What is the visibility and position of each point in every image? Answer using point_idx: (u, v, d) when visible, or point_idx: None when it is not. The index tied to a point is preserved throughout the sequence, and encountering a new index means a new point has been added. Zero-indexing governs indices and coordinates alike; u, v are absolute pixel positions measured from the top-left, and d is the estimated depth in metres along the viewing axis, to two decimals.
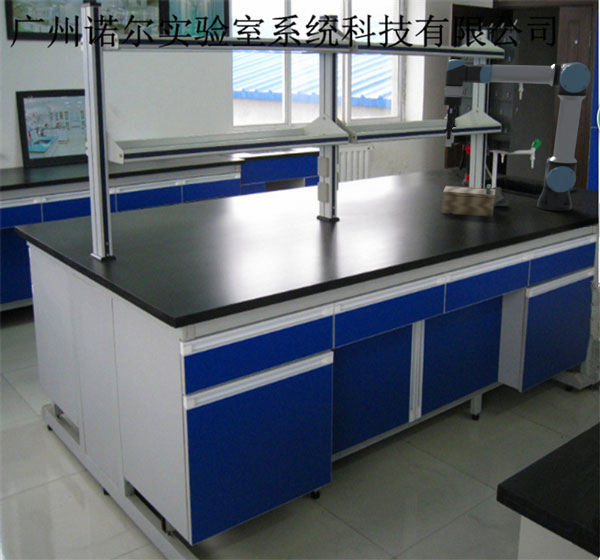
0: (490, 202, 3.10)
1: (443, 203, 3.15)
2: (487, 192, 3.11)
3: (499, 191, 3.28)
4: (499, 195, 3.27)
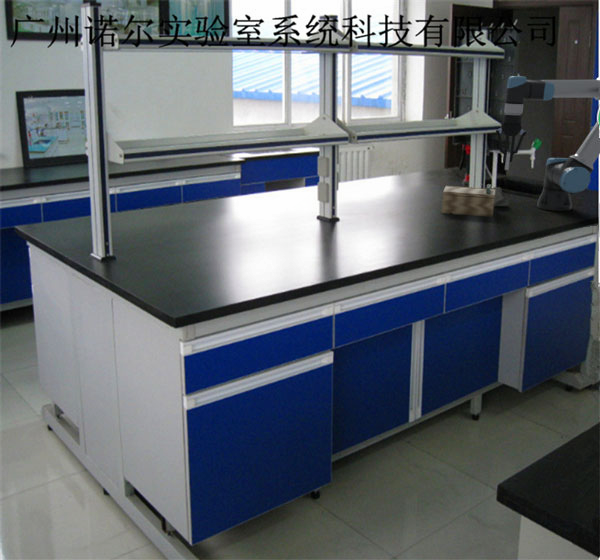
0: (490, 202, 3.10)
1: (443, 203, 3.15)
2: (487, 192, 3.11)
3: (499, 191, 3.28)
4: (499, 195, 3.27)
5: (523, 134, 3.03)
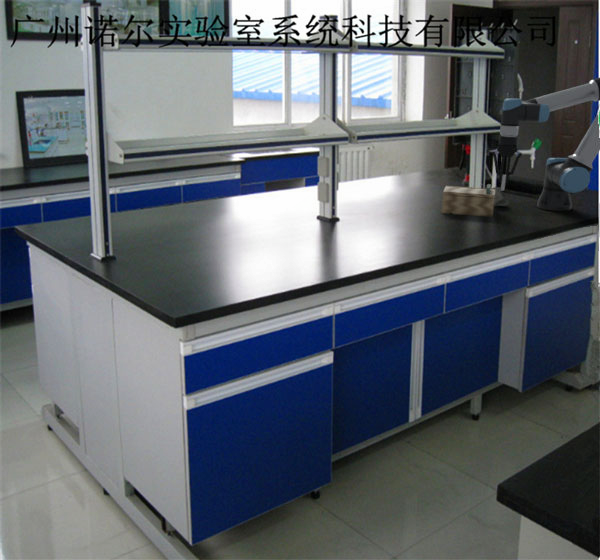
0: (490, 202, 3.10)
1: (443, 203, 3.15)
2: (487, 192, 3.11)
3: (499, 191, 3.28)
4: (499, 195, 3.27)
5: (519, 155, 3.06)
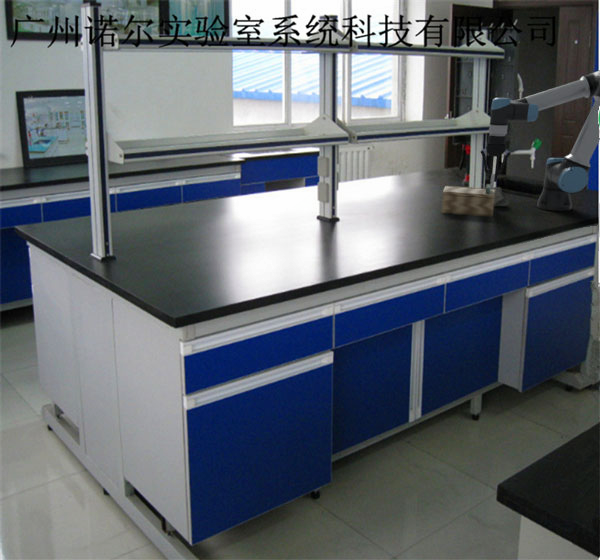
0: (490, 202, 3.10)
1: (443, 203, 3.15)
2: (486, 192, 3.11)
3: (499, 191, 3.28)
4: (499, 195, 3.27)
5: (507, 155, 3.07)
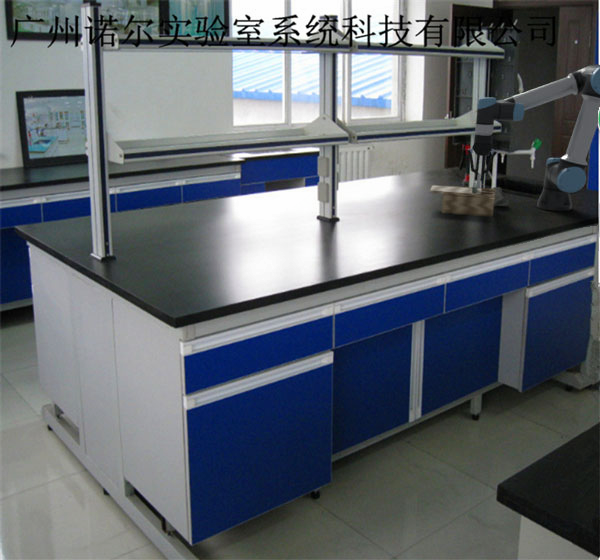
0: (490, 202, 3.10)
1: (443, 203, 3.15)
2: (473, 191, 3.12)
3: (499, 191, 3.28)
4: (499, 195, 3.27)
5: (493, 154, 3.09)
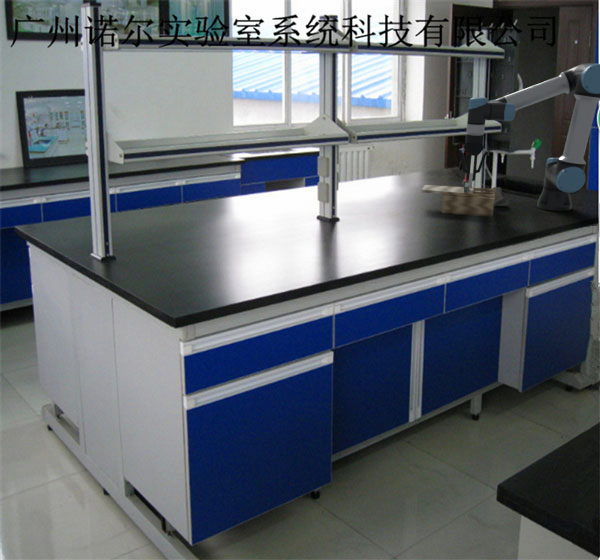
0: (490, 202, 3.10)
1: (443, 203, 3.15)
2: (465, 190, 3.13)
3: (499, 191, 3.28)
4: (499, 195, 3.27)
5: (485, 154, 3.10)
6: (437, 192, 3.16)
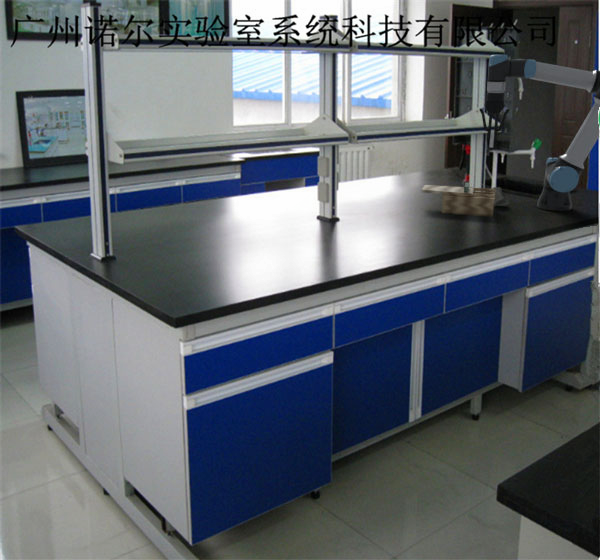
0: (490, 202, 3.10)
1: (443, 203, 3.15)
2: (465, 190, 3.13)
3: (499, 191, 3.28)
4: (499, 195, 3.27)
5: (506, 111, 3.09)
6: (437, 192, 3.16)
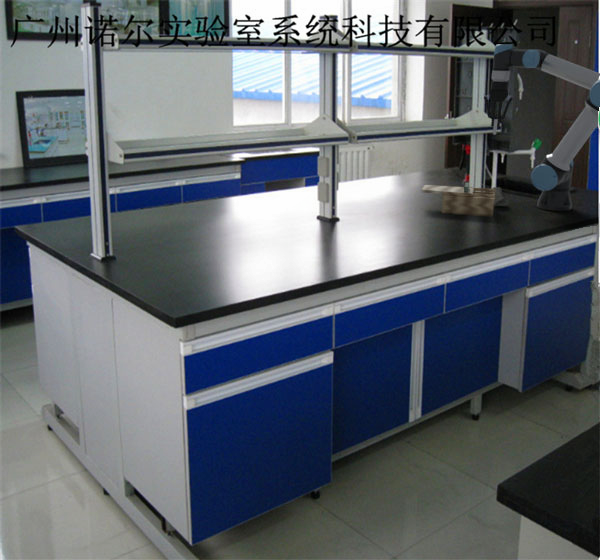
0: (490, 202, 3.10)
1: (443, 203, 3.15)
2: (465, 190, 3.13)
3: (499, 191, 3.28)
4: (499, 195, 3.27)
5: (510, 100, 3.19)
6: (437, 192, 3.16)
